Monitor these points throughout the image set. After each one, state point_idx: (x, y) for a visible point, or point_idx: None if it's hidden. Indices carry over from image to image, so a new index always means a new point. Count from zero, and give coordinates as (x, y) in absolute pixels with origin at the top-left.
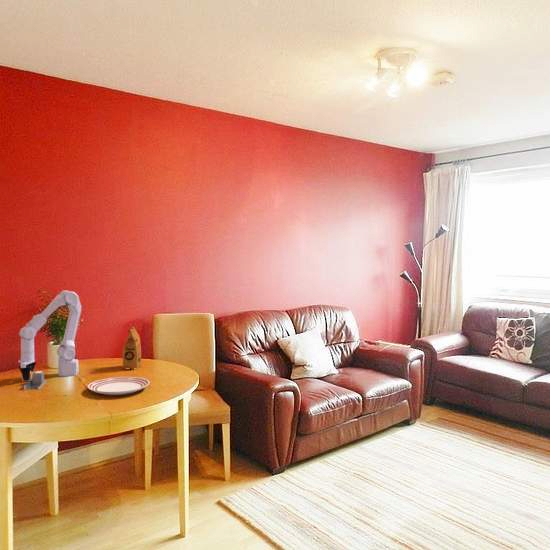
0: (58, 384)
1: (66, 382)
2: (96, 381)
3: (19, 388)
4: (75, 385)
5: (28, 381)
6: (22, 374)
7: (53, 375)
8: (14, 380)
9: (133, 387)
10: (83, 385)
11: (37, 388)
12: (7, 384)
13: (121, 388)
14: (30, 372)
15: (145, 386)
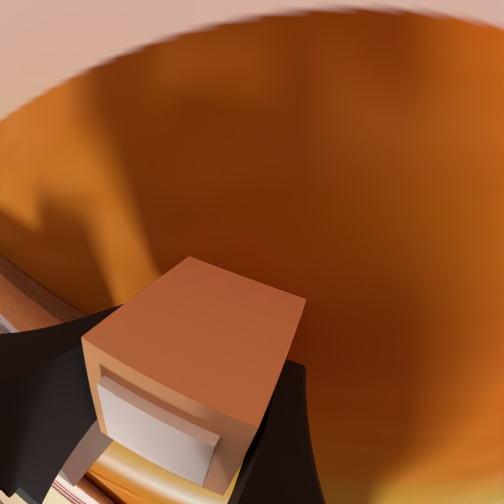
0: (128, 450)
1: (166, 484)
2: (93, 498)
3: (46, 223)
4: (111, 470)
5: (3, 318)
6: (50, 329)
7: (406, 501)
8: (463, 160)
9: (83, 497)
10: (111, 480)
11: (5, 330)
12: (227, 57)
13: (75, 486)
14: (151, 453)
15: (61, 494)
